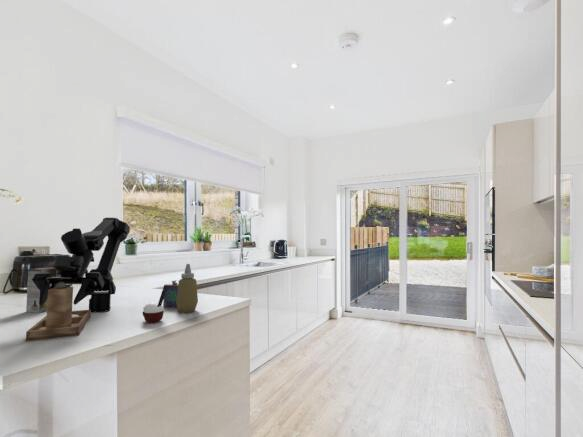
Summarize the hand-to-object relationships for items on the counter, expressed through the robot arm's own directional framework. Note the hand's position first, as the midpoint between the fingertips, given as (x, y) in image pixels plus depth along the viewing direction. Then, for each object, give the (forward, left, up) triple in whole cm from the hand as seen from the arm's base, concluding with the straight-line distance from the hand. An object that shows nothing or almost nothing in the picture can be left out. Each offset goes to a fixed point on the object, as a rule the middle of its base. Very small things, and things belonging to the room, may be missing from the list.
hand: (57, 304), depth 92 cm
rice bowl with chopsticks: (-26, -1, -9) cm, 28 cm away
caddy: (0, -6, -8) cm, 10 cm away
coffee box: (+12, -38, -9) cm, 41 cm away
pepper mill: (0, -1, -8) cm, 8 cm away
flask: (-34, -22, -9) cm, 42 cm away
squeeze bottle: (-38, -12, -9) cm, 41 cm away
